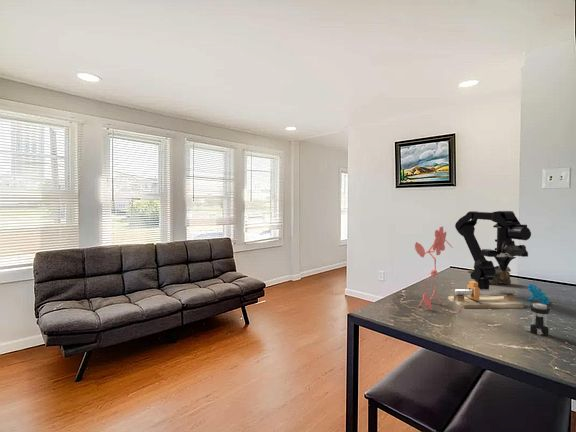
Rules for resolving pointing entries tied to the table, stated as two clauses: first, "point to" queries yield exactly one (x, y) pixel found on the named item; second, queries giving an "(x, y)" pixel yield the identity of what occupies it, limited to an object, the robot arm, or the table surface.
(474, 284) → the collar
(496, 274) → the brown carved figurine
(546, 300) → the gear
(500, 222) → the robot arm
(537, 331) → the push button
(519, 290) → the table surface
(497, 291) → the tube stand
